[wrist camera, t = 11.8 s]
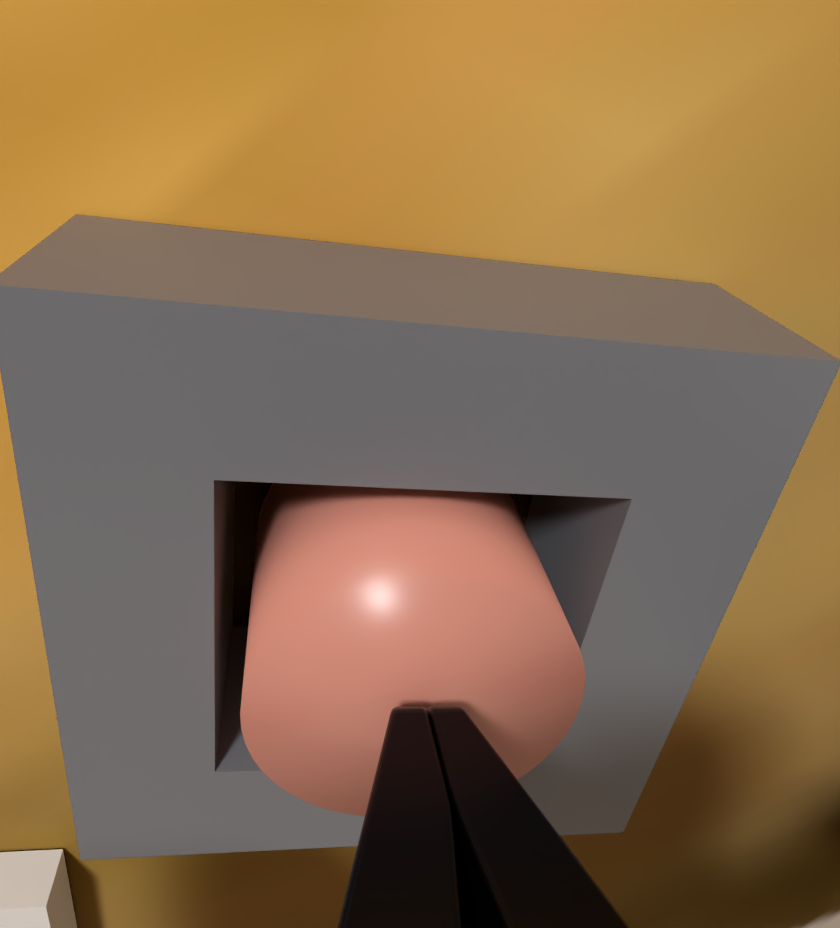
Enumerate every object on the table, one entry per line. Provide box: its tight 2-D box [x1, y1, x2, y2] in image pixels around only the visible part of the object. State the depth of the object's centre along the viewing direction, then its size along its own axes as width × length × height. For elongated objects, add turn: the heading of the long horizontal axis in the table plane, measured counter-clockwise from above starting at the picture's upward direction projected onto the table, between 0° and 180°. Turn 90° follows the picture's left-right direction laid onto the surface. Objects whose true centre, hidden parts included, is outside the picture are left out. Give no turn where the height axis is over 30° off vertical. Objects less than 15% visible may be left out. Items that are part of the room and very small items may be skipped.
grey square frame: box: [0, 214, 840, 860], centre depth 11 cm, size 9×9×3 cm
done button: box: [240, 483, 585, 816], centre depth 10 cm, size 4×4×4 cm
